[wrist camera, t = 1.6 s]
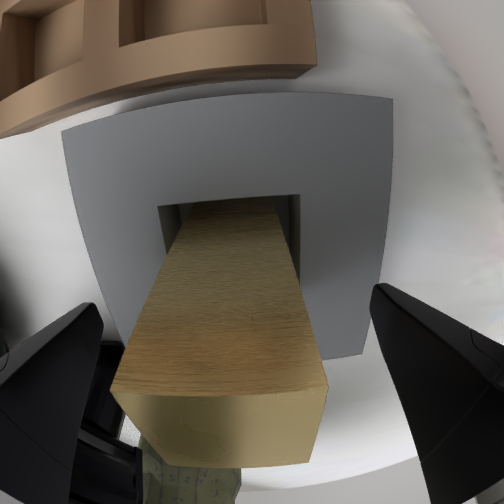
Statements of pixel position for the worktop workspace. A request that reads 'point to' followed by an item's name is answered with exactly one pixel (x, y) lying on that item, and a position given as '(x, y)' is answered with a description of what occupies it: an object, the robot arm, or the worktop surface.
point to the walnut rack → (139, 51)
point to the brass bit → (225, 346)
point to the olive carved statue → (185, 481)
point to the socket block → (242, 194)
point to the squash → (3, 345)
